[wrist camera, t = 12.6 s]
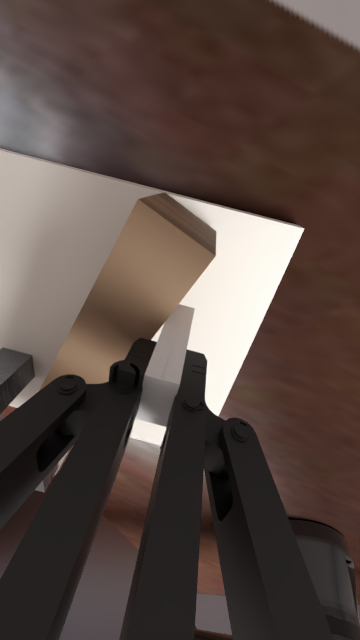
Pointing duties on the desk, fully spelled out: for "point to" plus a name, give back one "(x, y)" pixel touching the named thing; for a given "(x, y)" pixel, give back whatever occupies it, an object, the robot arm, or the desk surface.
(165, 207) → the link
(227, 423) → the robot arm
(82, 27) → the desk surface
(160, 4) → the desk surface
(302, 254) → the desk surface
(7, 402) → the bracket
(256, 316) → the board
